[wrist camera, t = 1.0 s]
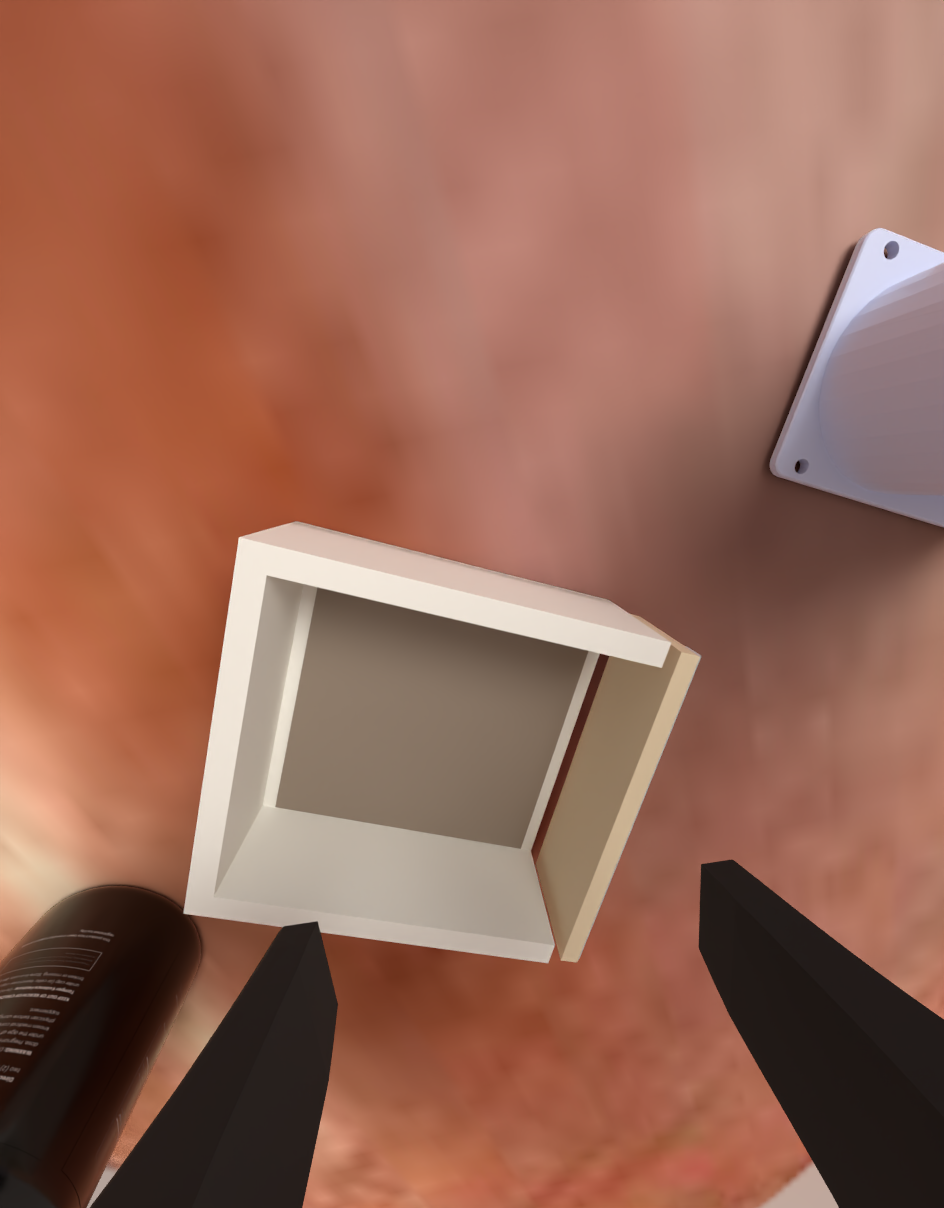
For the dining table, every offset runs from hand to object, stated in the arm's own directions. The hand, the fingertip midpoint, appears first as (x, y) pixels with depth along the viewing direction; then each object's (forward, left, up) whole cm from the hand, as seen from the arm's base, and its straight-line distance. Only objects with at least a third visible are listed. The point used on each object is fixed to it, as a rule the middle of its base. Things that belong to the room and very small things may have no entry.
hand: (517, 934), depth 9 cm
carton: (+2, +1, -10) cm, 11 cm away
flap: (-5, +1, -10) cm, 11 cm away
